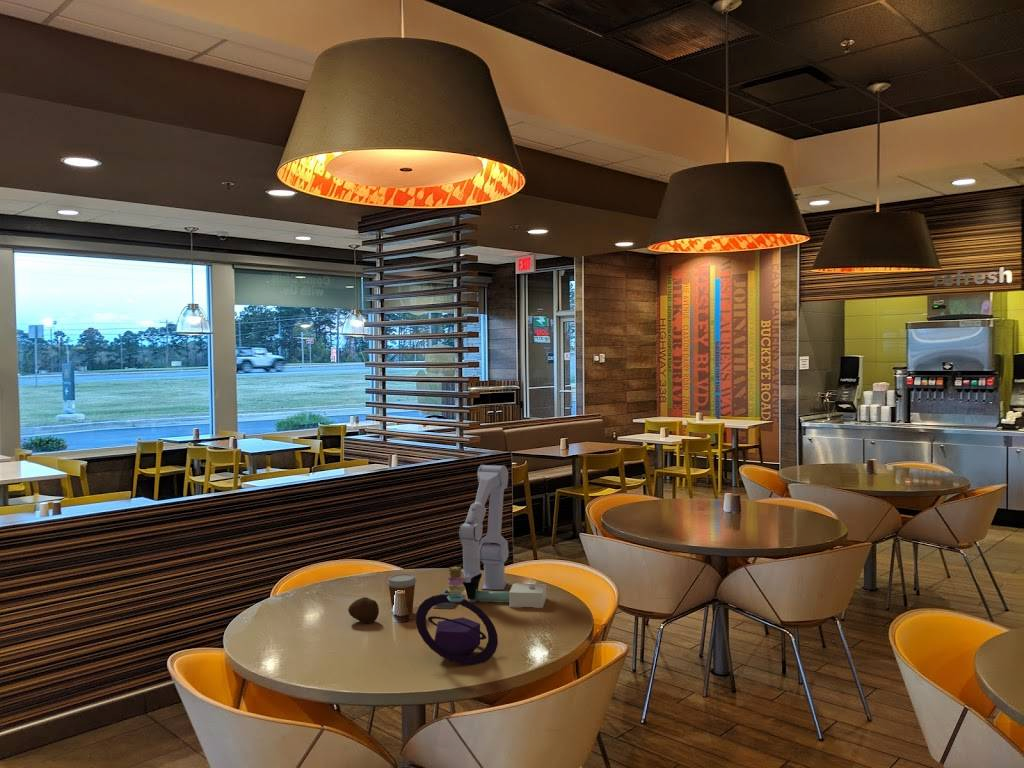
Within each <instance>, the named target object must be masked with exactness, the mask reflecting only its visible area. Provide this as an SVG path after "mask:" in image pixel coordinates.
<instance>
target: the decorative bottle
mask: <svg viewBox="0 0 1024 768" xmlns="http://www.w3.org/2000/svg"><path fill="white" fill-rule="evenodd" d="M461 570H463V568H462V567H461V566H452V567H451V566H450V567H449V568H448V571H449V578H447V579H446V582H447V583H448V584H449V586H447V587H446V589H447V590H448V591H449V593H450V594H452V595H440V594H437V595H432V596H430V597H428V598H426V599H424V600H423V601H422V602H421V603H420V604H419V606H418V608H417V610H416V613H415V625H416V627H417V631H418V633H419V635H420V637H421V639H422V641H424V643H425V645H427V647H429V648H430V650H432V651H433V652H434V653H436V654H437V655H438V656H439V657H441V658H443V659H446V660H448V661H449V662H452V663H456V664H460V665H466V666H467V665H468V666H470V665H472V666H475V665H478V664H479V665H480V664H483V663H485V662H487V661H489V660H490V659H491V658H492V657H493V655H494V654H495V653H496V651H497V648H498V645H499V639H498V632H497V629H496V627H495V624H494V623H493V622H492V620H491V619H490V617H489V616H488V615H487V614H486V612H485V611H483V609H481V608H480V607H479V606H477V605H476V604H475V603H474V602H470V600H467V599H466V597H467V595H465V594H463V592H464V591H466V588H465V587H464V585H463V586H462V585H461V584H463V582H464V581H465V579H464V577H462V573H461ZM454 589H456V590H454ZM457 593H460V594H457ZM445 602H446V603H455V605H459V606H461V607H464V608H466V609H468V610H470V611H471V612H472V613H474V614H475V616H477V617H478V619H480V620H481V622H482V623H483V625H484V626H485V629H486V632H487V635H486V634H485V633H483V631H481V623H480V622H477V621H473V620H471V619H469V618H466V617H464V616H462V617H457V618H451V619H450V618H447V617H443V616H442V617H441V616H435V615H434V616H433V615H432V616H428V614H429V611H430V610H431V609H433V607H434V606H435V605H437V604H440V603H445ZM453 613H454V616H455V614H456V613H455V612H453ZM469 613H470V612H468V614H469ZM472 613H470V614H471V615H472ZM427 616H428V617H427ZM435 619H436V620H439V621H437V623H436V622H434V620H435ZM427 621H428V622H430V623H431V624H432V625H434V626H435V627H436V629H435V635H434V638H433V637H432V635H431V634H430V632H429V631H428V627H427ZM486 639H487V643H486V645H485V647H484V648H483V649H482V650H481V651H480V652H478V653H477V654H473V653H474V652H475V651H476V649H477V648H478V647H479V646H480V645H481V641H483V640H486Z"/></svg>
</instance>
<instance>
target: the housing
mask: <svg viewBox="0 0 1024 768" xmlns="http://www.w3.org/2000/svg"><path fill="white" fill-rule="evenodd" d="M546 588H547V584H546V583H516V582H515V583H513V584H512V586H511V587H510V590H509V591H508V592H509V601H508V602H509V603H508V605H509V608H521V607H534V608H533V609H543V608H544V605H545V604H546V600H547V589H546Z"/></svg>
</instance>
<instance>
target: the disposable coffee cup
mask: <svg viewBox="0 0 1024 768" xmlns="http://www.w3.org/2000/svg"><path fill="white" fill-rule="evenodd" d="M416 582H417V579H416V576H415V574H414V575H413V574H410V573H397V574H396V573H395V574H394V575H393V574H392V575H391V576H389V577H388V578H387V582H386V583H387V586H388V591H389V596H390V601H391V608H392V609H391V610H392V611H393V605H394V595H395V591H397V590H403V591H404V590H405V593H406V599H407V608H408V613H409V615H408V616H411V615H412V614H413V610H414V601H415V600H414V597H415V589H416V588H415V586H416Z"/></svg>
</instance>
